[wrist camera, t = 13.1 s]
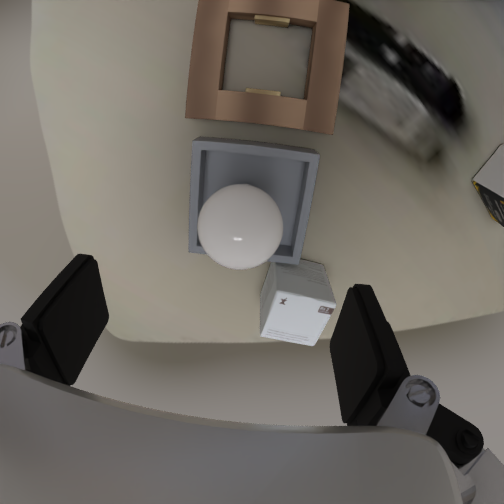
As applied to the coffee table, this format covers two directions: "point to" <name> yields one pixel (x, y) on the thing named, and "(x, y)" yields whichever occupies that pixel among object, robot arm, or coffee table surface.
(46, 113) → the coffee table surface
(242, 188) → the lightbulb
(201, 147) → the tray
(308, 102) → the socket collar
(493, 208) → the medicine bottle
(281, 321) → the skincare box
